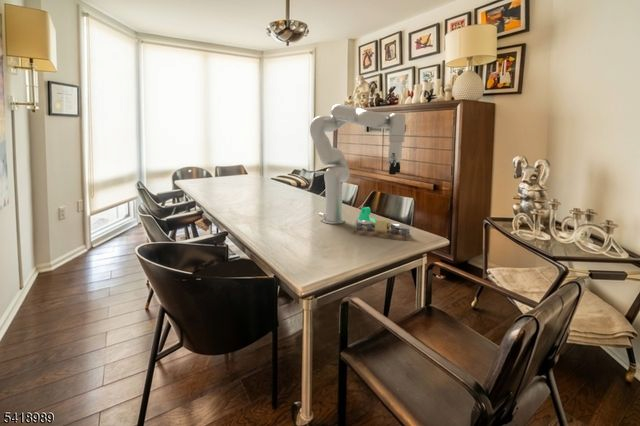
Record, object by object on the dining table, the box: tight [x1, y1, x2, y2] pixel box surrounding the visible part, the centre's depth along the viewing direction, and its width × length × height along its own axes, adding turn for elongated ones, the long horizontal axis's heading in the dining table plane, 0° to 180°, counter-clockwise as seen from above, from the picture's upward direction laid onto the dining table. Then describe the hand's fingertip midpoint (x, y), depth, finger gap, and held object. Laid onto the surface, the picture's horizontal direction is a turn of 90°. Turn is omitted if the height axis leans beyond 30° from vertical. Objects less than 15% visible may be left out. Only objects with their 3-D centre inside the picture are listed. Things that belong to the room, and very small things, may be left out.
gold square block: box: [374, 217, 391, 233], centre depth 182 cm, size 7×6×6 cm
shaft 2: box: [390, 222, 411, 236], centre depth 178 cm, size 9×4×5 cm, turn 56°
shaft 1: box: [355, 219, 375, 231], centre depth 185 cm, size 9×4×5 cm, turn 76°
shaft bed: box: [353, 226, 411, 241], centre depth 182 cm, size 26×11×2 cm, turn 66°
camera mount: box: [357, 206, 376, 227], centre depth 199 cm, size 12×8×10 cm, turn 21°
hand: (394, 173), depth 181 cm, fingers open, 9 cm apart
